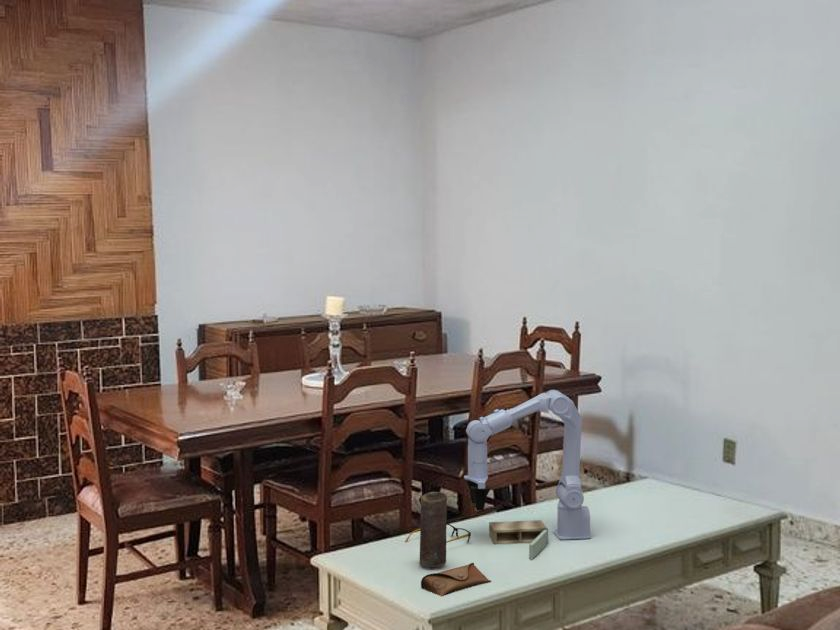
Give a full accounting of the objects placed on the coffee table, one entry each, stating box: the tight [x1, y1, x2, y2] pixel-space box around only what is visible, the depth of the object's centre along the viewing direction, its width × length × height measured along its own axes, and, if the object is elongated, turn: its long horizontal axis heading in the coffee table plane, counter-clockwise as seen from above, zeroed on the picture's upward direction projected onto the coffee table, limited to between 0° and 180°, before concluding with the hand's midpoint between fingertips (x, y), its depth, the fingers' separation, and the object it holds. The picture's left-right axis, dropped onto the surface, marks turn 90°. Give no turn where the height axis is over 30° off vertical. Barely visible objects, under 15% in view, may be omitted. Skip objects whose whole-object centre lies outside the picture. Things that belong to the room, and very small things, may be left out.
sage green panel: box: [528, 528, 549, 560], centre depth 282 cm, size 16×1×4 cm, turn 156°
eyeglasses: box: [404, 522, 472, 544], centre depth 290 cm, size 14×14×4 cm
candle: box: [419, 491, 448, 569], centre depth 269 cm, size 8×7×20 cm
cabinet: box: [488, 519, 548, 545], centre depth 293 cm, size 16×8×4 cm, turn 96°
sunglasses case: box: [420, 562, 492, 597], centre depth 256 cm, size 18×7×7 cm, turn 128°
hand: (477, 506), depth 292 cm, fingers open, 7 cm apart
